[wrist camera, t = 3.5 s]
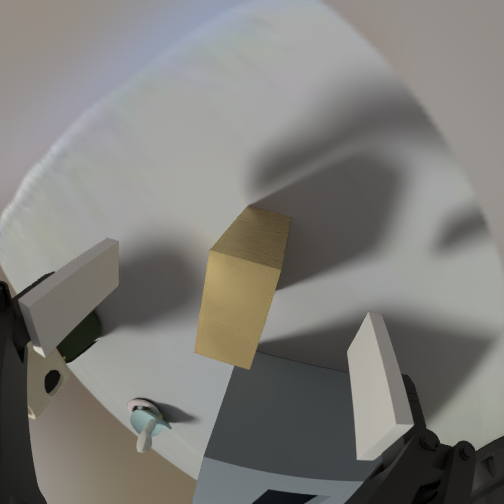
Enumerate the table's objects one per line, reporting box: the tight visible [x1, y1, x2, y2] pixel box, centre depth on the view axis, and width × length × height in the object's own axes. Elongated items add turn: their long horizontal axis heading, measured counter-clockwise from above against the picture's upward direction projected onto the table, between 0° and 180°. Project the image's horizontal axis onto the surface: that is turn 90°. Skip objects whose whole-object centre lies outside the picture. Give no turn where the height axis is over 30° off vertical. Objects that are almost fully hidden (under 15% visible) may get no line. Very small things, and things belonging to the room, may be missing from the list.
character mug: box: [27, 311, 101, 420], centre depth 21 cm, size 11×7×13 cm, turn 142°
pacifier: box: [128, 399, 171, 453], centre depth 29 cm, size 7×6×6 cm
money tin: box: [192, 352, 382, 504], centre depth 21 cm, size 15×16×11 cm
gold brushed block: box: [194, 206, 291, 370], centre depth 16 cm, size 3×6×8 cm, turn 167°
